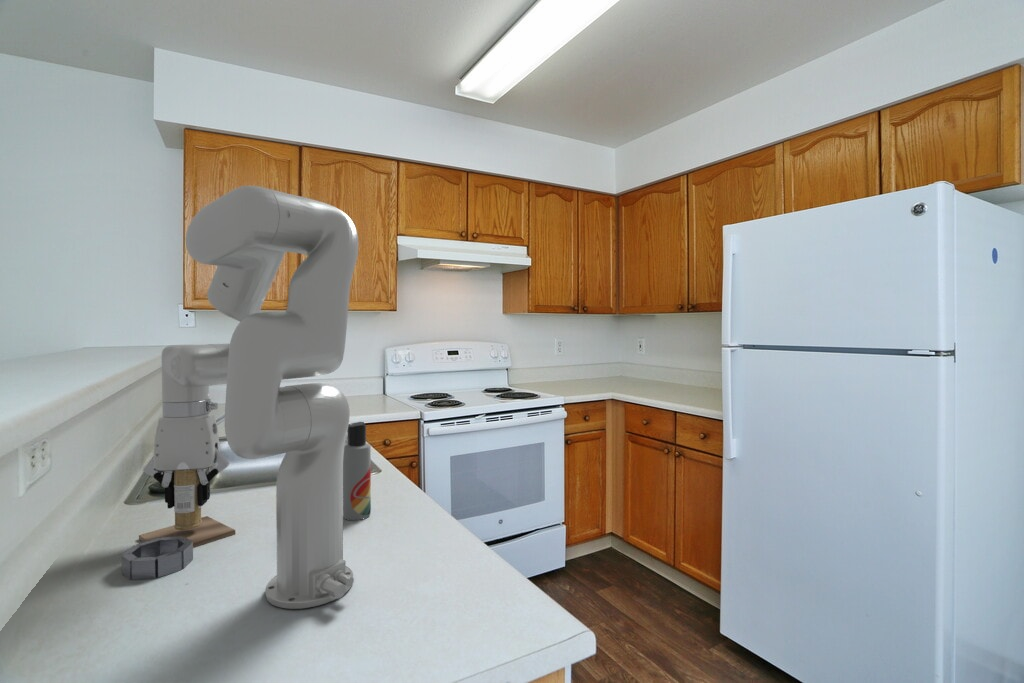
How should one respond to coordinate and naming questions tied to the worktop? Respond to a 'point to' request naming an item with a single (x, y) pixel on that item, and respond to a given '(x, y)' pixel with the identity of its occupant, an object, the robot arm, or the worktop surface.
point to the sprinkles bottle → (186, 498)
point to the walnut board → (193, 532)
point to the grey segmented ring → (157, 557)
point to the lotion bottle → (356, 473)
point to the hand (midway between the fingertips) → (187, 503)
